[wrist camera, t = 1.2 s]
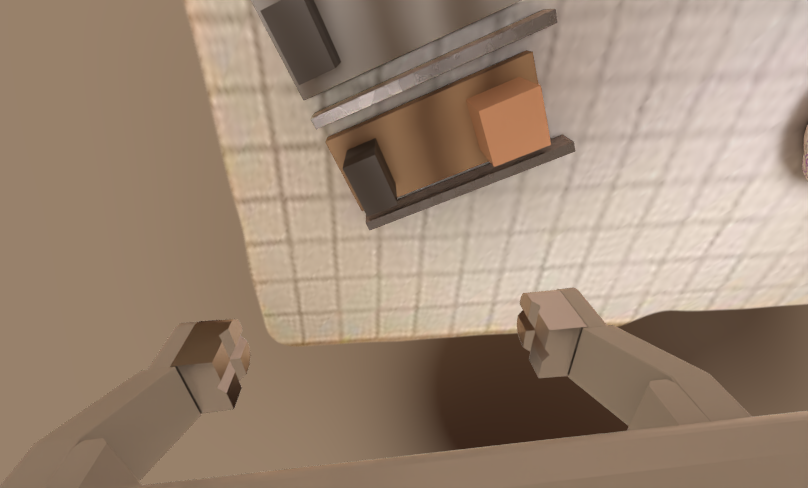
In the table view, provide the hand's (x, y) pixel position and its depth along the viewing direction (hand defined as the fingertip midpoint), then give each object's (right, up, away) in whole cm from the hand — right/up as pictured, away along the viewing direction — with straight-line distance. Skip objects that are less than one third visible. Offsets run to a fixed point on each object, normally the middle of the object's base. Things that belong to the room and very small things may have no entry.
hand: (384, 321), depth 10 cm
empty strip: (-1, +22, +19) cm, 29 cm away
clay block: (+9, +14, +23) cm, 29 cm away
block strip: (+4, +13, +25) cm, 29 cm away
